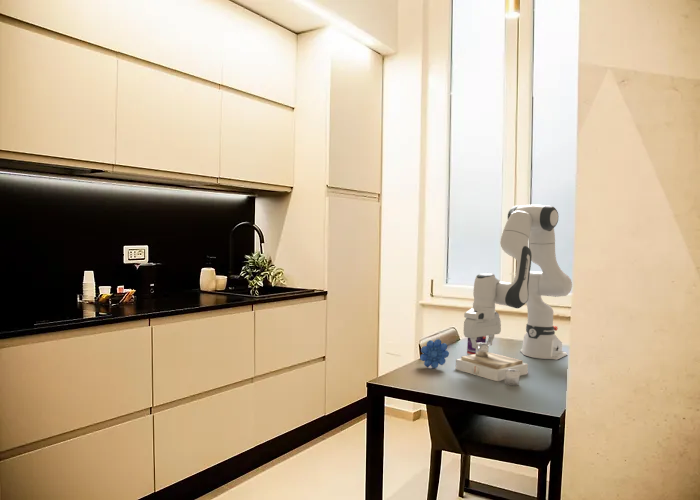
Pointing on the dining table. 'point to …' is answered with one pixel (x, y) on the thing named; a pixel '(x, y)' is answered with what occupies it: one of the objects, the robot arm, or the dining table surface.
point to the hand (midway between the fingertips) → (482, 346)
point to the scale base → (488, 370)
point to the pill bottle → (479, 340)
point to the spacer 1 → (482, 350)
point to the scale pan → (492, 360)
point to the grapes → (434, 353)
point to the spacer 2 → (512, 377)
